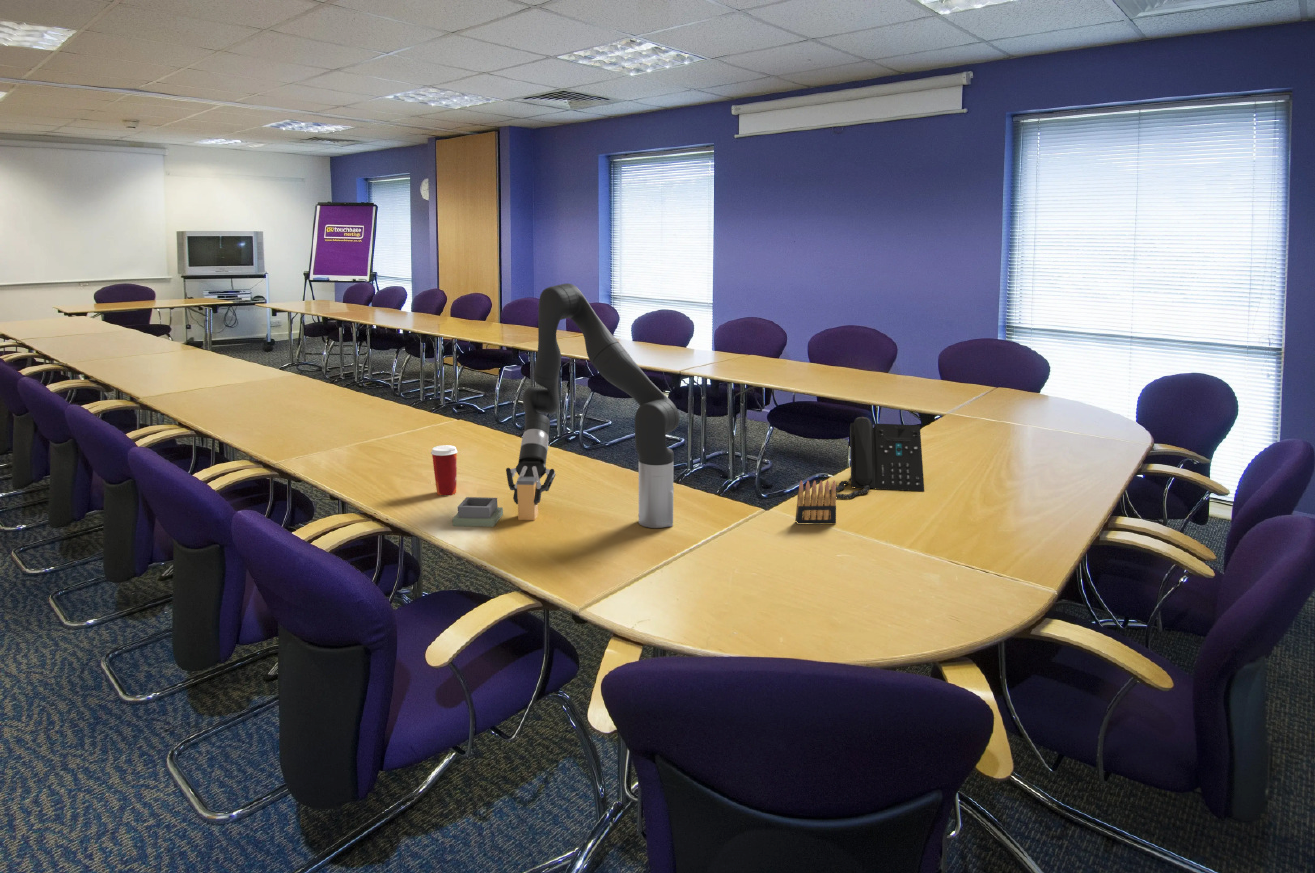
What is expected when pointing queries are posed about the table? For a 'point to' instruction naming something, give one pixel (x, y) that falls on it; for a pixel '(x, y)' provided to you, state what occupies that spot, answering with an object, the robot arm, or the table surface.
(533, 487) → the grey-capped square pillar
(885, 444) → the office phone
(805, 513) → the ammunition clip
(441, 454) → the paper cup
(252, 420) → the table surface
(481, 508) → the grey square tray
